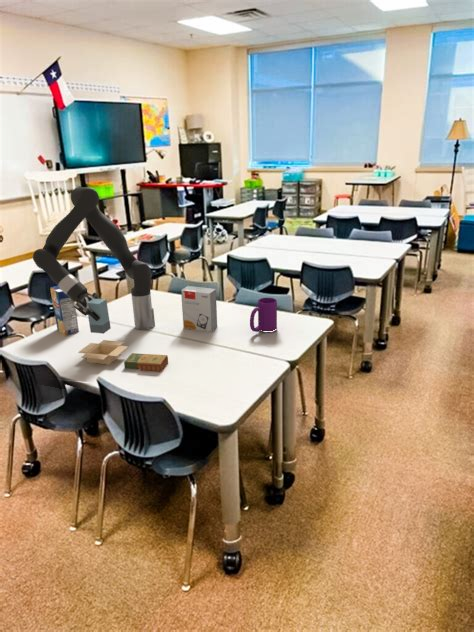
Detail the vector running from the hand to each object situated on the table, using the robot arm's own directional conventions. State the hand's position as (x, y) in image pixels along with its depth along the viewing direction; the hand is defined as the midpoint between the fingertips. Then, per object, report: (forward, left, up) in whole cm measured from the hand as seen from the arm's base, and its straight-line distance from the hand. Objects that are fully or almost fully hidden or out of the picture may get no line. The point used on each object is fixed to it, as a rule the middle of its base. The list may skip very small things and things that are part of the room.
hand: (102, 316), depth 194 cm
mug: (-72, +10, -20) cm, 75 cm away
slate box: (+1, -1, -6) cm, 7 cm away
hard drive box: (-49, -11, -20) cm, 54 cm away
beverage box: (+8, -44, -20) cm, 49 cm away
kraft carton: (+1, -1, -20) cm, 20 cm away
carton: (-12, +15, -20) cm, 28 cm away
